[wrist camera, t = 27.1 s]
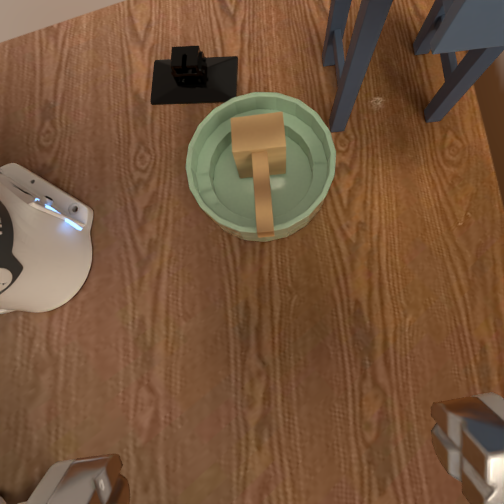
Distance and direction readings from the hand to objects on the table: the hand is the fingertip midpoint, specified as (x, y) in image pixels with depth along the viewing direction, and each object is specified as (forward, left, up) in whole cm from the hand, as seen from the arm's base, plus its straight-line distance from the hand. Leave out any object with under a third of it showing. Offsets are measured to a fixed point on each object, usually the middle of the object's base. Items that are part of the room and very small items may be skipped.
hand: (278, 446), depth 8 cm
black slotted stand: (-32, +18, -29) cm, 47 cm away
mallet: (-13, +12, -28) cm, 32 cm away
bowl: (-15, +13, -29) cm, 35 cm away
